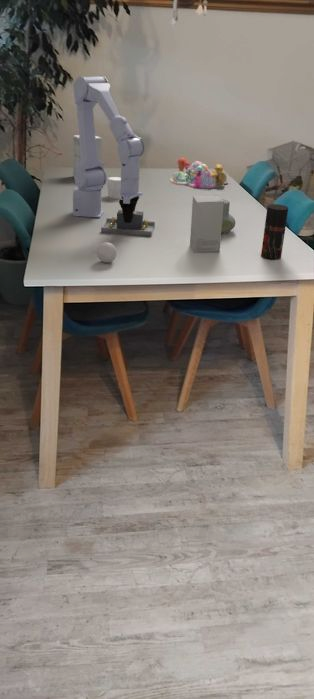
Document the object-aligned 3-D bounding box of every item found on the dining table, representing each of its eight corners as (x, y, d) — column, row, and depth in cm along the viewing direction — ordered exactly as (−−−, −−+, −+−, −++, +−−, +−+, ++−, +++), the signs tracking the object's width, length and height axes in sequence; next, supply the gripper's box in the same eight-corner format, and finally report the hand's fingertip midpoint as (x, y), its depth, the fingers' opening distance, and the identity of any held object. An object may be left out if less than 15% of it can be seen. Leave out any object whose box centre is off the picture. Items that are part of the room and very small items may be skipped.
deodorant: (280, 261, 189) (288, 210, 182) (260, 258, 190) (267, 208, 183) (281, 254, 194) (288, 205, 187) (261, 252, 195) (267, 203, 188)
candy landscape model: (226, 178, 284) (228, 156, 280) (230, 191, 263) (232, 168, 259) (170, 175, 284) (171, 153, 280) (169, 187, 264) (170, 164, 259)
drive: (116, 228, 207) (117, 213, 205) (118, 225, 211) (118, 209, 208) (141, 230, 207) (142, 214, 204) (142, 226, 210) (143, 211, 208)
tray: (101, 232, 204) (101, 224, 203) (106, 222, 214) (106, 215, 213) (151, 236, 204) (151, 228, 202) (154, 226, 213) (154, 218, 212)
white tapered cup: (128, 198, 244) (128, 179, 241) (112, 200, 241) (113, 181, 237) (118, 193, 249) (119, 175, 246) (103, 195, 246) (103, 177, 242)
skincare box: (214, 245, 199) (219, 195, 191) (220, 252, 193) (225, 201, 186) (188, 245, 197) (192, 195, 190) (193, 253, 191) (197, 201, 184)
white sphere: (115, 258, 184) (116, 239, 181) (117, 265, 179) (117, 246, 176) (88, 258, 183) (89, 239, 180) (89, 265, 178) (89, 245, 175)
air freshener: (204, 234, 208) (207, 204, 203) (199, 227, 215) (201, 197, 211) (237, 234, 210) (240, 204, 205) (230, 227, 217) (233, 197, 212)
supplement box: (102, 179, 268) (103, 138, 260) (82, 181, 264) (82, 138, 256) (92, 174, 275) (92, 134, 268) (72, 176, 271) (72, 134, 263)
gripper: (140, 184, 194) (138, 227, 201) (145, 173, 207) (143, 215, 214) (116, 182, 195) (116, 226, 201) (123, 172, 208) (122, 213, 214)
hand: (128, 220), depth 207 cm, fingers closed on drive, 4 cm apart
